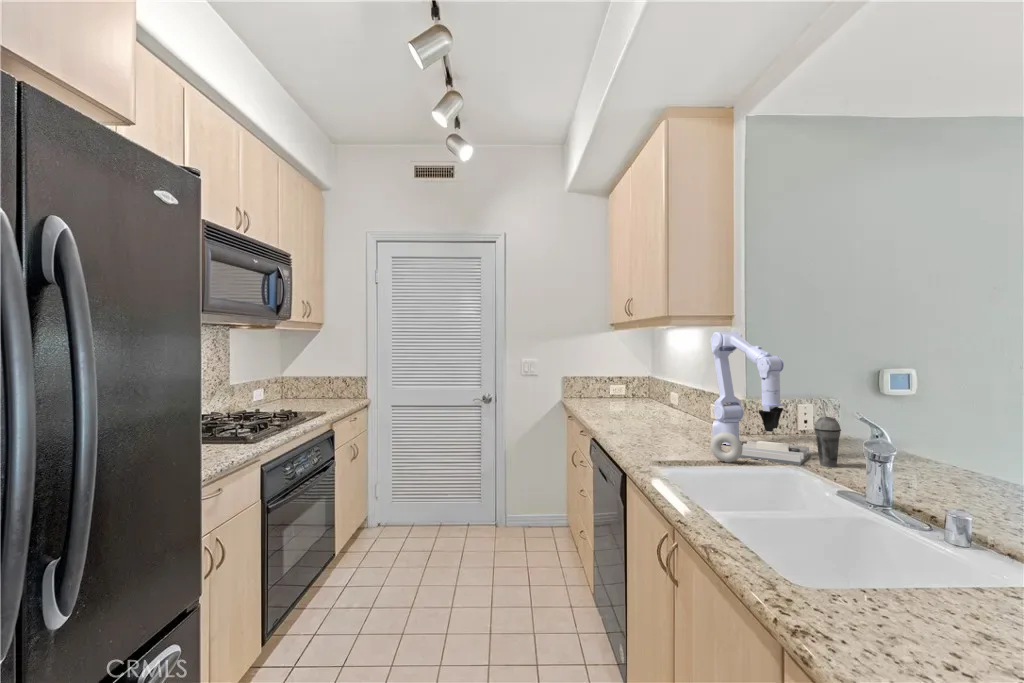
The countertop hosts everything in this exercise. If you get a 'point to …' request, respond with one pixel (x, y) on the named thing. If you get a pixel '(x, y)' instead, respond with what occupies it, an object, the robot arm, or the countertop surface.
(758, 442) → the white box with cylinder
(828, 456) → the beverage cup
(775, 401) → the robot arm
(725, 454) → the donut
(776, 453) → the grey tray
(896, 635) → the countertop surface
